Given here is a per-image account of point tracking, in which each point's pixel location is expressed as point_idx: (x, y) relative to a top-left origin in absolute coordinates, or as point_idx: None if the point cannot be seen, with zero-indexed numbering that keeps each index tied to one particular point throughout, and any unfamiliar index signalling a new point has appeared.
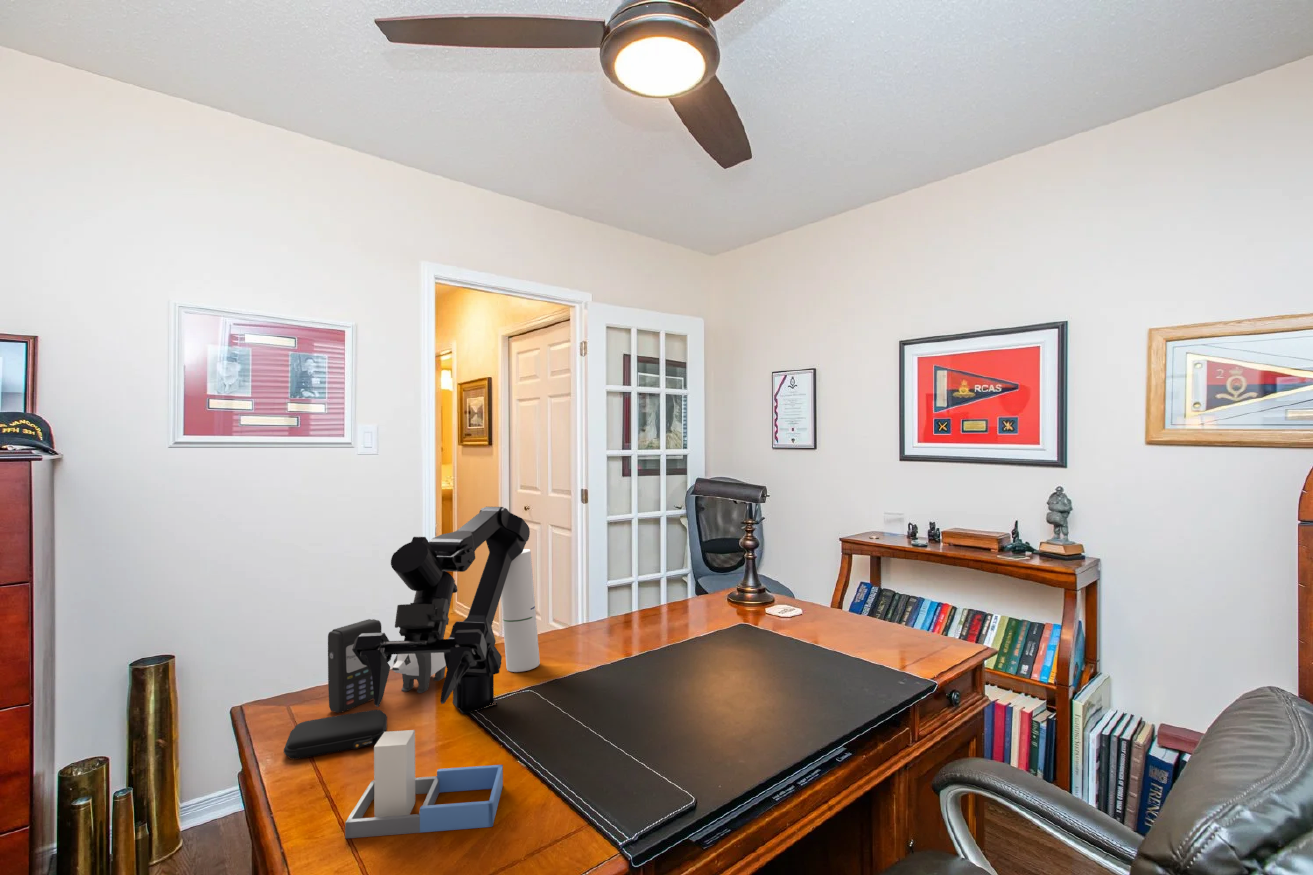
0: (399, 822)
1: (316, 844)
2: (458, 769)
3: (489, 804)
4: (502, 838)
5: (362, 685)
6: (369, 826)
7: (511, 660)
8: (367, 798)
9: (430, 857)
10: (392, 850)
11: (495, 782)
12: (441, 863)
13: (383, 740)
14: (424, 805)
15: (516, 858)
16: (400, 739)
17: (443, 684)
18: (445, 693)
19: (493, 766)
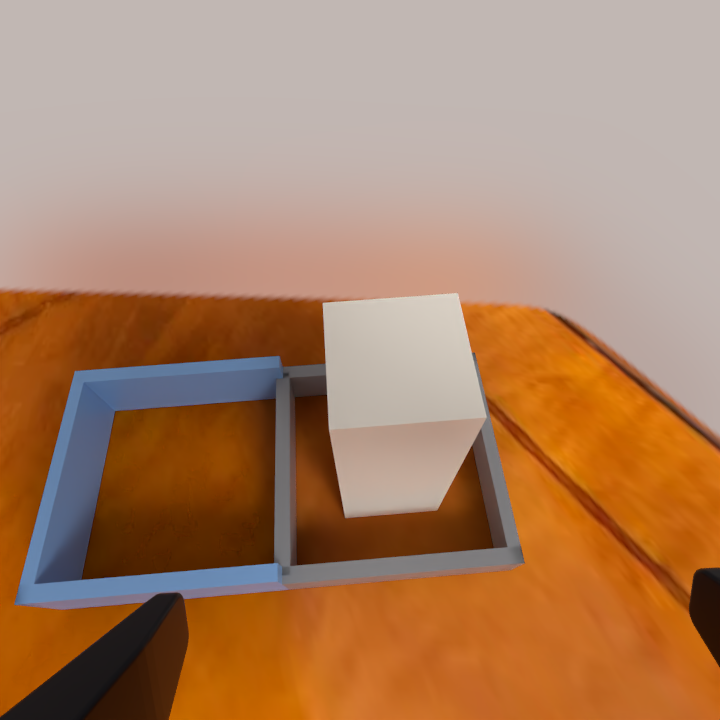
0: None
1: (524, 357)
2: (194, 575)
3: (84, 370)
4: (85, 361)
5: None
6: None
7: None
8: (489, 487)
9: (243, 313)
10: None
11: (56, 477)
12: (216, 297)
13: (444, 340)
14: (283, 413)
15: (61, 305)
16: (366, 344)
17: (104, 684)
18: (118, 629)
19: (54, 592)
